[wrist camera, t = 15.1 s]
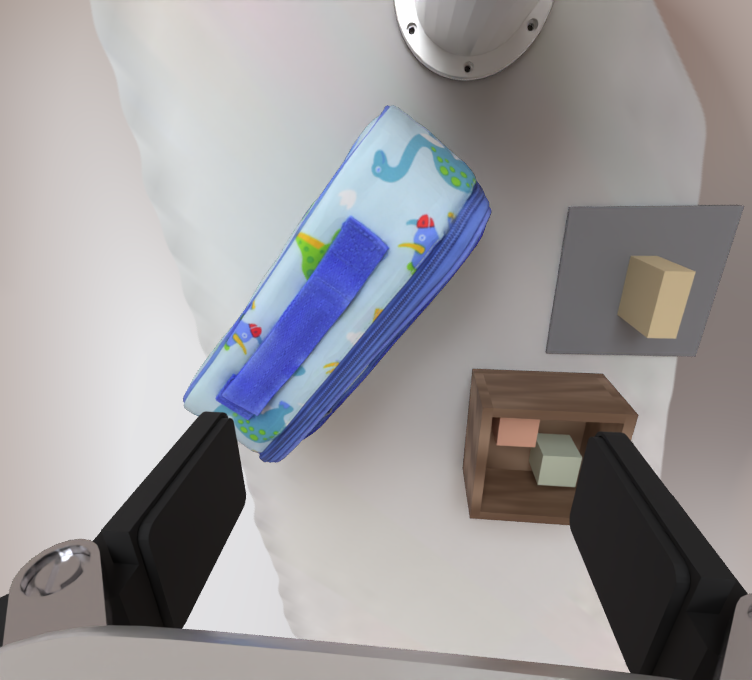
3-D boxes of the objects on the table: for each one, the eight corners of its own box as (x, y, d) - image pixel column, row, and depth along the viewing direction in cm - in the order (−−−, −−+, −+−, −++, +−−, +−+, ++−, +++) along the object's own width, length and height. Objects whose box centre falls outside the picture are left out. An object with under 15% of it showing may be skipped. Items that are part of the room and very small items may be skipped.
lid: (567, 206, 39) (596, 215, 33) (736, 204, 38) (800, 214, 32) (544, 349, 45) (564, 380, 39) (689, 352, 44) (735, 385, 38)
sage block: (533, 432, 48) (543, 455, 44) (569, 434, 47) (582, 457, 44) (528, 460, 49) (537, 484, 46) (563, 462, 49) (575, 487, 45)
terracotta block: (494, 393, 46) (500, 413, 43) (531, 395, 46) (540, 415, 42) (490, 423, 48) (496, 445, 44) (526, 425, 48) (535, 447, 44)
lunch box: (326, 375, 49) (267, 514, 29) (249, 320, 47) (132, 432, 28) (481, 187, 39) (543, 214, 20) (392, 110, 37) (364, 56, 18)
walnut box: (472, 368, 46) (482, 407, 39) (602, 373, 45) (638, 415, 38) (462, 467, 52) (469, 518, 45) (578, 474, 51) (605, 527, 43)
